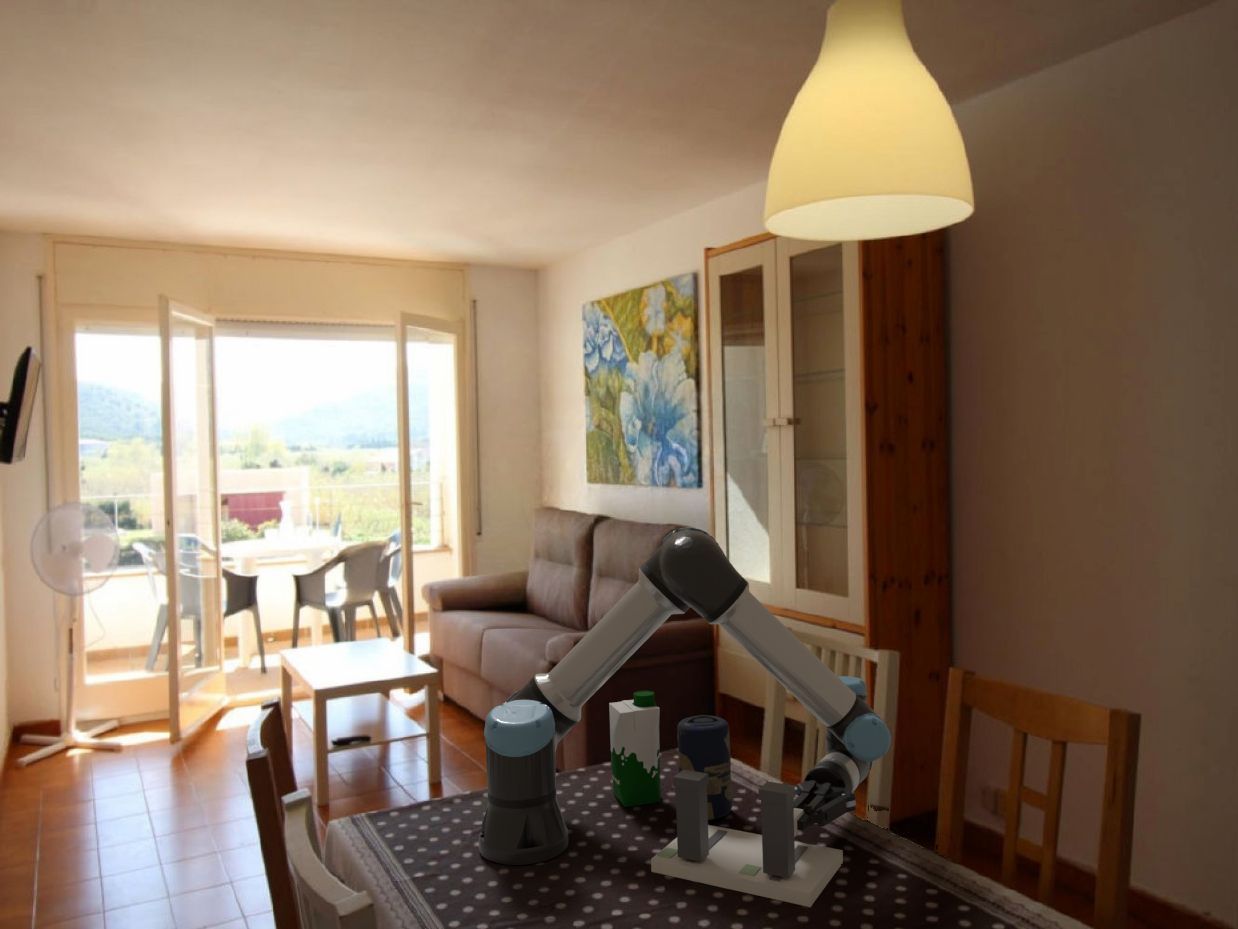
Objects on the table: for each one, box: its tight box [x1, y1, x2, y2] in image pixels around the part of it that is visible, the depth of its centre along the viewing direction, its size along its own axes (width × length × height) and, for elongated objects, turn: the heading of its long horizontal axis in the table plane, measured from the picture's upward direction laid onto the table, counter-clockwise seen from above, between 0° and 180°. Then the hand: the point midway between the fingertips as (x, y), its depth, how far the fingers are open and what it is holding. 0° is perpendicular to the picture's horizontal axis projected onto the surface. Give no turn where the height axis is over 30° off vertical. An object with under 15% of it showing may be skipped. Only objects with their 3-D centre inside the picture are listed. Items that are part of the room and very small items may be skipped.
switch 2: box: [758, 780, 796, 878], centre depth 142 cm, size 4×4×13 cm
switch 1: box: [672, 770, 709, 862], centre depth 149 cm, size 4×4×13 cm
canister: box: [676, 714, 733, 821], centre depth 172 cm, size 10×10×18 cm
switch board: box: [650, 824, 844, 908], centre depth 150 cm, size 26×16×2 cm, turn 60°
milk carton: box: [608, 690, 662, 808], centre depth 180 cm, size 9×9×20 cm
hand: (785, 832), depth 144 cm, fingers closed
